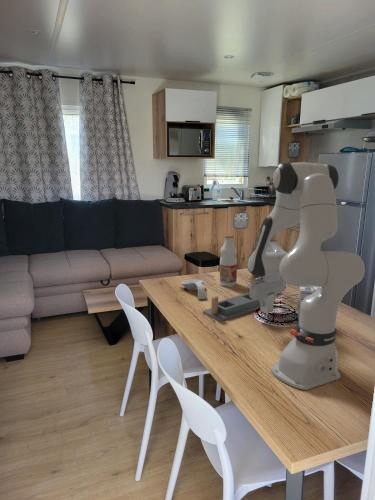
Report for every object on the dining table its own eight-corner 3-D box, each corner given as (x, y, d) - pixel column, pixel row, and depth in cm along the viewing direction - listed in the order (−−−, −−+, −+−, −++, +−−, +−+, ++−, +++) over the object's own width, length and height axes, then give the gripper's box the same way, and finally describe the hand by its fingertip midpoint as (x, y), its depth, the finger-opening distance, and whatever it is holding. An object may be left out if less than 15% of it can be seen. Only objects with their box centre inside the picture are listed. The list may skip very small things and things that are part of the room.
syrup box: (312, 324, 153) (315, 291, 149) (298, 322, 154) (300, 290, 151) (311, 318, 158) (313, 286, 155) (296, 317, 159) (299, 286, 156)
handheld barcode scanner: (179, 286, 202) (179, 274, 200) (199, 284, 205) (199, 272, 203) (191, 301, 180) (191, 287, 178) (214, 298, 183) (214, 285, 181)
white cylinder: (267, 314, 162) (268, 293, 160) (260, 312, 166) (261, 291, 163) (273, 312, 165) (274, 291, 162) (266, 309, 168) (267, 289, 166)
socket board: (220, 321, 156) (220, 301, 153) (202, 312, 165) (202, 294, 163) (272, 304, 175) (273, 286, 172) (253, 297, 184) (254, 280, 182)
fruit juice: (219, 281, 209) (220, 233, 203) (236, 281, 208) (237, 233, 202) (219, 286, 200) (220, 236, 194) (236, 287, 199) (237, 236, 193)
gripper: (257, 281, 153) (256, 312, 156) (288, 273, 164) (287, 301, 168) (246, 278, 158) (245, 308, 161) (277, 269, 169) (276, 298, 173)
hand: (267, 304), depth 164 cm, fingers open, 5 cm apart
